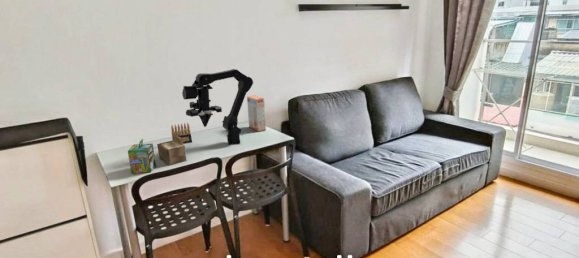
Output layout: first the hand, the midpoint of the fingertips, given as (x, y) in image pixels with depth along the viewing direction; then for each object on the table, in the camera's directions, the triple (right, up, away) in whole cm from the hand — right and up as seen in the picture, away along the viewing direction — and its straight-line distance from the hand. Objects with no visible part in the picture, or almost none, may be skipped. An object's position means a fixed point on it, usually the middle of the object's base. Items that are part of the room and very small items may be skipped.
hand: (205, 126), depth 185 cm
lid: (-14, -10, -12) cm, 20 cm away
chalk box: (-24, -21, -21) cm, 38 cm away
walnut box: (-14, -17, -10) cm, 24 cm away
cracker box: (+25, -1, +38) cm, 45 cm away
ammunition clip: (-17, -10, +15) cm, 24 cm away
